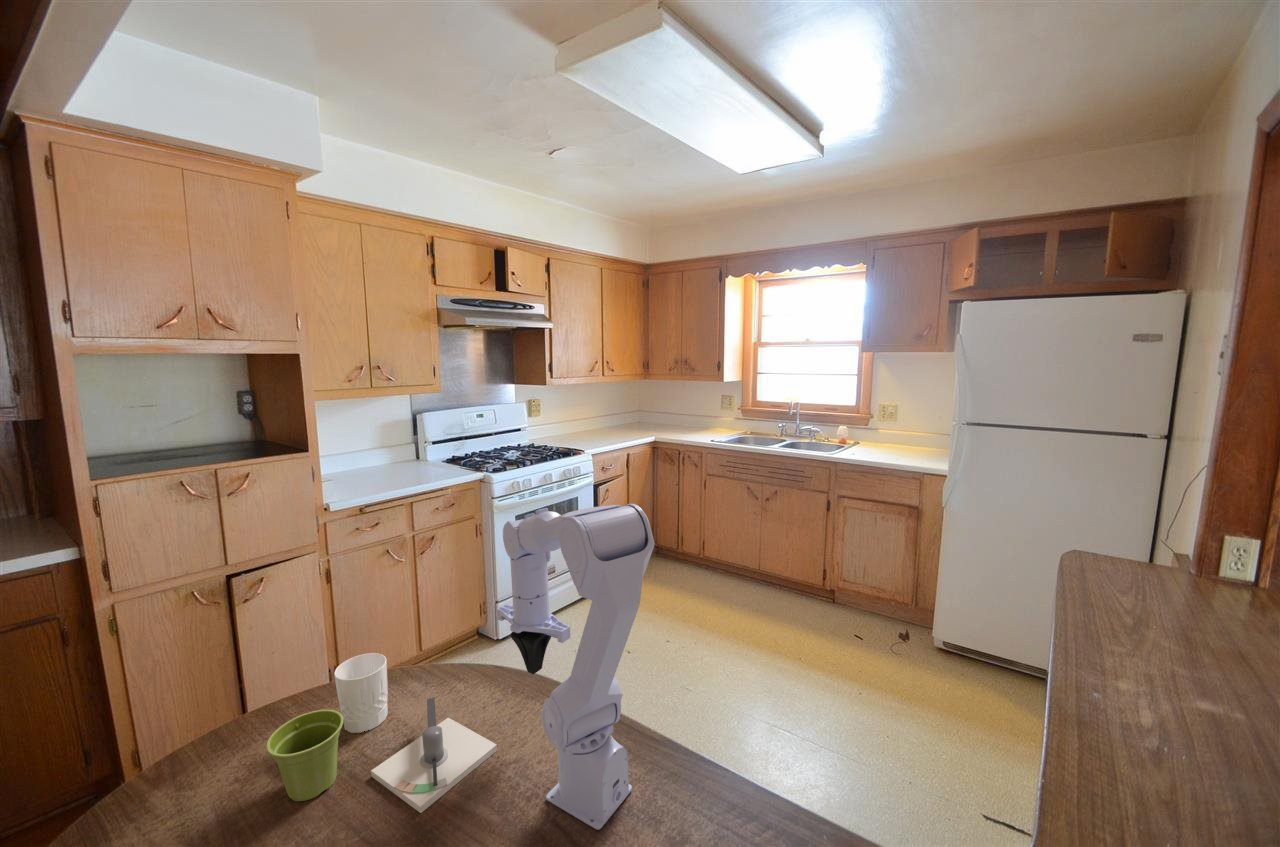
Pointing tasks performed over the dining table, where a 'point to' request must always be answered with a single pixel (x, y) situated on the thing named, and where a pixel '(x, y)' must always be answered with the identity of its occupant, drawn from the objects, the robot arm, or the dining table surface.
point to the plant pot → (307, 752)
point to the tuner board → (415, 775)
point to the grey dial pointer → (432, 739)
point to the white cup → (362, 691)
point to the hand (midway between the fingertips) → (534, 670)
